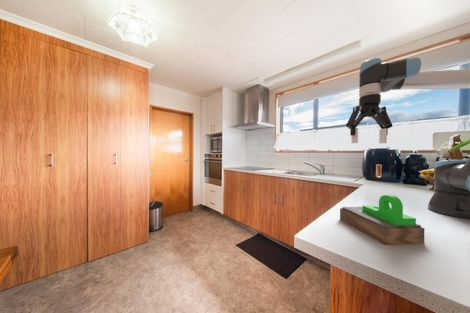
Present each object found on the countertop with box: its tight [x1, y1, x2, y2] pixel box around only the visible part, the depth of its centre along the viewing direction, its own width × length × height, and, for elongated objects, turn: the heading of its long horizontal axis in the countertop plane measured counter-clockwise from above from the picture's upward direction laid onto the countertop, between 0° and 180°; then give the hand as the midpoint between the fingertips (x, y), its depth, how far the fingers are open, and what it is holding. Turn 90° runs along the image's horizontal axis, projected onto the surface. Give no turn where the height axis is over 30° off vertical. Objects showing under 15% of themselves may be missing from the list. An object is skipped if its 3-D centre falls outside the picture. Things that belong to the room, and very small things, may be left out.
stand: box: [339, 206, 425, 246], centre depth 55 cm, size 12×18×5 cm, turn 4°
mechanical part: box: [362, 194, 417, 225], centre depth 53 cm, size 12×6×8 cm, turn 1°
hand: (368, 143), depth 74 cm, fingers open, 13 cm apart
